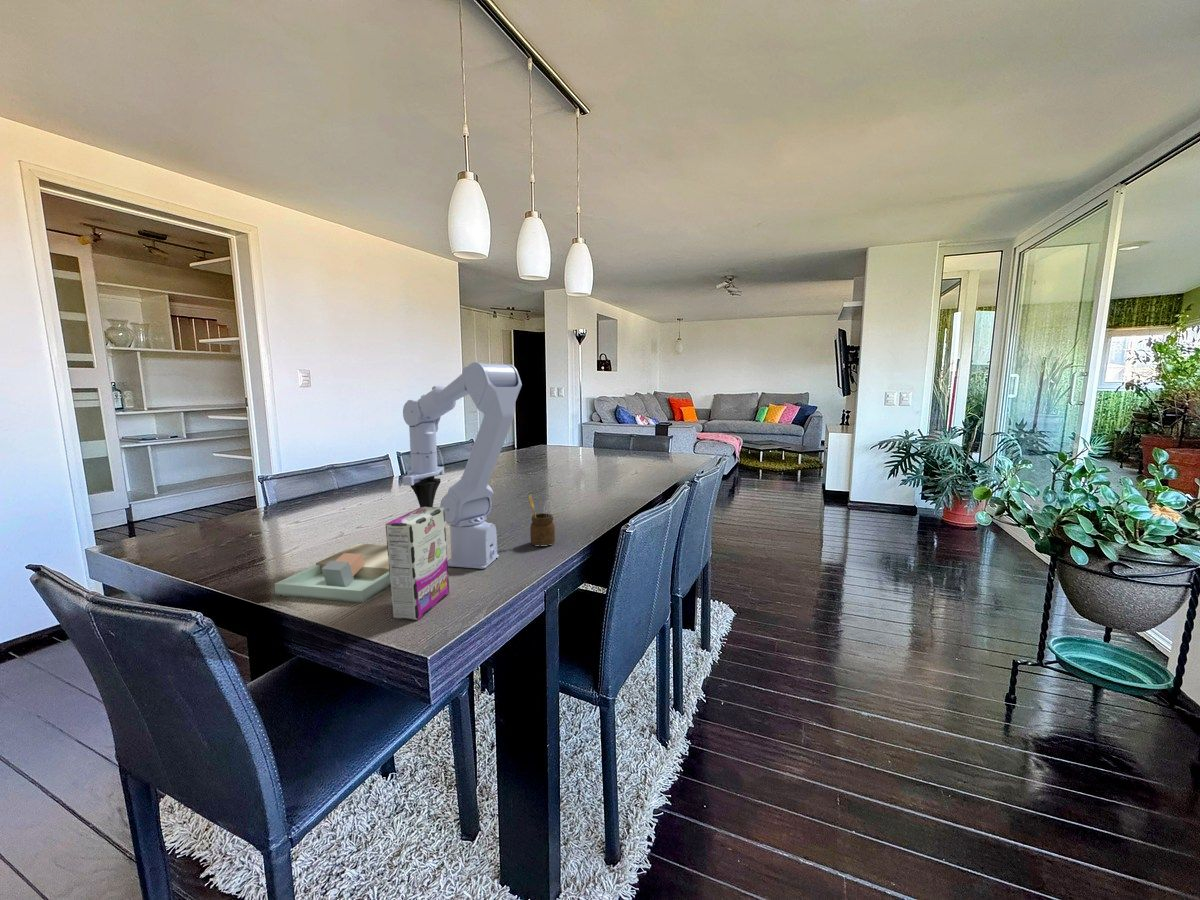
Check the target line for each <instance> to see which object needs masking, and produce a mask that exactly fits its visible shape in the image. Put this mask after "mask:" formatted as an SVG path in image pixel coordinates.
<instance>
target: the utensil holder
mask: <svg viewBox="0 0 1200 900" xmlns="http://www.w3.org/2000/svg"><path fill="white" fill-rule="evenodd" d="M527 498H528V501H529V505H530V508H531V509H532V513H533V515H532V516H531V523H530V528H529V531H530V532H529V533H530V534H529V535H530V536H529V537H530V544H531V545H532V544H533V545H539V546H541V545H549V544H553V543H554V542H555V543H556V528H555V527H556V526H555V523H554V516H553V512H554V507H555V506H554V505H555V503H554V502H553V500H551V499H548V500H546V501H545V502H544V503H545V504H544V506H543V510H548V506H546V505H547V504H549V502H550V506H549V507H552V509H551V510H549V513H548V512H543V513H542V512H540V513H536V511H535V504H534V500H533V497H532V494H529V495H528V496H527ZM552 503H553V505H552ZM545 507H546V508H545ZM555 543H554V544H555ZM554 544H553V545H554ZM533 545H532V546H533Z"/></svg>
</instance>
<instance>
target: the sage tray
mask: <svg viewBox="0 0 1200 900" xmlns="http://www.w3.org/2000/svg"><path fill="white" fill-rule="evenodd" d="M353 577H354V580H353V581H352V582H351V583H350V584H349V585H348V586H347V587H338V586H327V584H326V581H325V578H324V575H323V574H322V573H321V569H320V565H316V564H314V565H311V566H310V567H307V568H305V569H303V570H301V571H299V572H296V573H294V574H292V575H291V576H288V577H286V578H284V579H282V580H281V579H280V580H279V581H277V582H275V583H274V591H275V592H274V593H275V596H280V595H282V596H281V597H293V598H301V599H302V598H305V599H314V600H316V599H317V600H326V601H337V602H347V603H356V604H357V603H358V604H359V603H360V604H363V603H364V602H366V601H367V600H370V599H371V598H373V597H374V596H376V595H377V594H378V593H380V592H382V591H383V590H385V589H387V588H388V587H390V573H389V572H387V573H385V574H384V575H382V576H380V577H379V578H372V577H359V576H353Z"/></svg>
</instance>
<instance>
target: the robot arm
mask: <svg viewBox="0 0 1200 900" xmlns="http://www.w3.org/2000/svg"><path fill="white" fill-rule="evenodd" d="M522 386H523V384H522V380H521V377H520V374H519V371H518V370H517V368H516V367H515V366H514V365H513V364H510V363H504V364H499V363H480V362H475V361H474V362H471V363H469V364H468V365H467V366H465V367H463V368H462V372H461V374H459V376H457V377H456V378H455V379H453V381H451V382H450V383H448V385H446V386H443V385H434V386H432V387H431V390H430V391H429V392H427V393H426V394H422V395H421V396H420V398H419V399H418V400H414V399H408V400H407V401H406V402H405V403H404V405H403V409H402V417H403V419H404V422H405V423H406V424H407V426H408V430H409V432H408V433H409V450H410V468H411V470H408V471H407V472H406V473H407V474H406V475H405V476H403V477H402V480H403V481H402V483H403V486H409V487H411V489H412V491H413V492H414V494H415V496H416V498H417V502H418V504H419V508H420V507H434V502H435V497H436V493H437V491H438V488H439V486H440V484H441V478H439V477H438V478H436V477H437V476H444V475H445V466H438V452H437V451H438V447H437V432H438V430H439V422H440V420H441V417H442V416H444V415H445V414H447V413H449V412H450V411H452V410H453V409H454V408H455V407H456V403H457V401H458V400H460V399H461V398H464V397H466V396H468V395H469V396H470V398H471V400H472V401H473V403H474V405H475V408H477V410H478V411H480V412H481V413H482V415H483V418H482V421H481V424H480V426H479V429H478V432H477V435H476V437H475V441H474V444H473V446H472V448H471V451H470V454H469V457H468V460H467V463H466V466H465V468H464V470H463V474H462V476H461V478H460V479H459V480H458V481H457V482H455V483H454V484H452V485H451V486H450V487H449V488H448V491H447V493H446V494H445V495H444V496H443V497H442V498H441V501H440V503H439V504H440V505H439V507H440V508H444V514H445V523H446V524H447V525H449V536H450V558H449V559H447V563H448V567H451V568H453V567H454V568H466V569H481V570H482V569H484V570H485V569H486V568H488V566H490V565H491V564H492V563H493V562H494V561H495V560H497V559H498V558H499V557H500V555H499V554H498V534H497V533H498V531H497V527H496V524H495V523H491V522H487V521H486V520H487V517H488V515H489V514H490V513H491V511H492V507H493V506H492V505H493V503H492V502H493V496H494V494H495V492H494V491H493V489H492V487H491V486H490V484H489V482H490V480H491V477H492V474H493V473H494V469H495V466H496V465H497V461H498V459H499V457H500V454H501V451H502V449H503V446H504V443H505V441H506V440H507V437H508V433H509V431H510V430H511V429H510V428H511V426H512V424H513V420H514V417H515V410H516V401H517V399H518V396H519V394H520V391H521V389H522ZM496 558H497V559H496Z"/></svg>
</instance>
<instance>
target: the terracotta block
mask: <svg viewBox="0 0 1200 900" xmlns="http://www.w3.org/2000/svg"><path fill="white" fill-rule="evenodd" d="M336 561H338V562H349V564H350V567H351V571H352V574H353V576H354V575H355V574H356V573H357V572H358V571H359V570H360V569H361V568H362V567H363V566H364V565H365V563H364V560H363V556H362V554H351V553H344V554H342V555H341V556H340V557H339V558H338V559H337V560H336Z"/></svg>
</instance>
